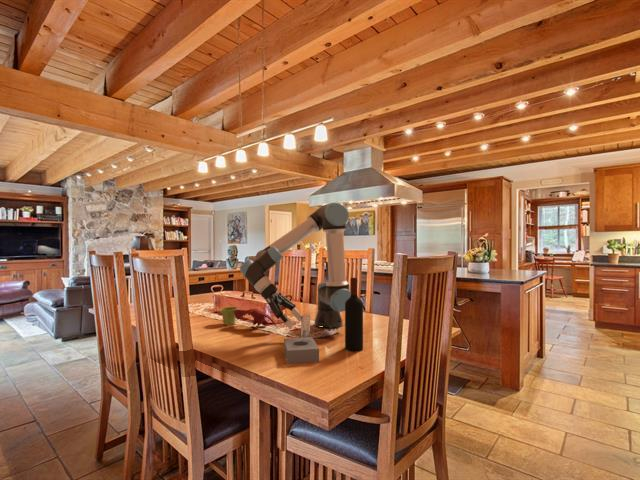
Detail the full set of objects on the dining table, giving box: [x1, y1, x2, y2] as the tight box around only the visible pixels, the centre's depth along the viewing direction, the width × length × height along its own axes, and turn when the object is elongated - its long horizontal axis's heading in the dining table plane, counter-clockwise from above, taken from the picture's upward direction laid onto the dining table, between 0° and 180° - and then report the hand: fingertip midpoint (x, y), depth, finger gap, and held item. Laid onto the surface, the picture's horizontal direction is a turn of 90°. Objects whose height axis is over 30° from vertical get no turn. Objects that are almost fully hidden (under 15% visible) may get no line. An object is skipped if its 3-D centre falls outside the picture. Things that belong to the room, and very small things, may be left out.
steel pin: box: [300, 314, 311, 338], centre depth 155 cm, size 4×4×12 cm
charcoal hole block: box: [283, 336, 320, 365], centre depth 138 cm, size 12×16×5 cm
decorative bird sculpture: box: [234, 308, 277, 330], centre depth 181 cm, size 28×9×15 cm
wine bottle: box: [344, 277, 364, 353], centre depth 147 cm, size 8×8×30 cm
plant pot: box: [219, 306, 239, 326], centre depth 190 cm, size 9×9×9 cm
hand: (297, 323), depth 155 cm, fingers open, 13 cm apart
